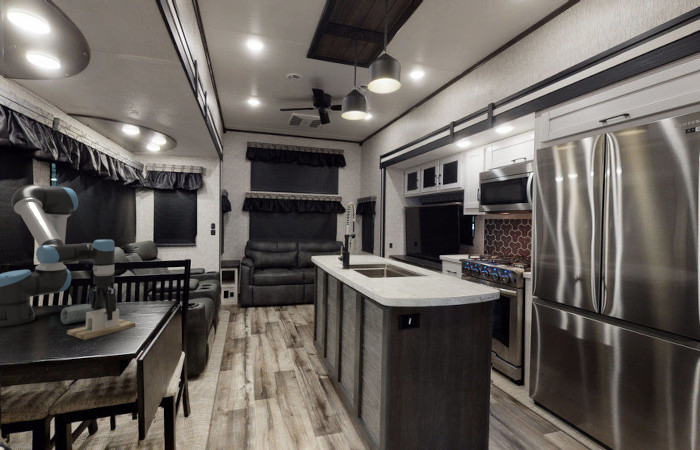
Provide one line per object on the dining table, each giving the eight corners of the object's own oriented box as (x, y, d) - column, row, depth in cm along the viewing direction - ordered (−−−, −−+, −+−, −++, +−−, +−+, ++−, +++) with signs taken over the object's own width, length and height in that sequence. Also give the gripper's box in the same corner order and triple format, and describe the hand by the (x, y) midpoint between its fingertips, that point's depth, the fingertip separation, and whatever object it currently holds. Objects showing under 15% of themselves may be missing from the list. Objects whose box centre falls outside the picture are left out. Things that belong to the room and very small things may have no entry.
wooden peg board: (66, 333, 140) (67, 321, 140) (117, 321, 158) (117, 310, 158) (85, 339, 134) (85, 326, 134) (135, 326, 152) (135, 314, 152)
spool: (57, 321, 146) (65, 299, 151) (56, 325, 152) (64, 304, 157) (94, 323, 154) (101, 302, 159) (92, 328, 160) (99, 307, 165)
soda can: (86, 311, 173) (87, 288, 173) (102, 308, 179) (102, 286, 179) (91, 313, 169) (92, 290, 169) (107, 310, 175) (108, 288, 175)
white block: (85, 328, 143) (86, 312, 142) (110, 322, 152) (111, 307, 151) (93, 331, 140) (94, 314, 140) (118, 324, 149) (119, 309, 149)
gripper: (81, 273, 146) (81, 325, 147) (107, 277, 138) (107, 332, 138) (100, 271, 153) (99, 320, 153) (126, 275, 145) (125, 327, 145)
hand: (103, 326), depth 146 cm, fingers open, 7 cm apart
